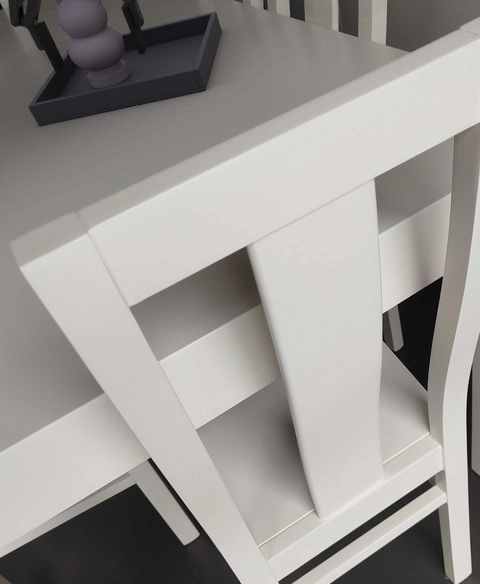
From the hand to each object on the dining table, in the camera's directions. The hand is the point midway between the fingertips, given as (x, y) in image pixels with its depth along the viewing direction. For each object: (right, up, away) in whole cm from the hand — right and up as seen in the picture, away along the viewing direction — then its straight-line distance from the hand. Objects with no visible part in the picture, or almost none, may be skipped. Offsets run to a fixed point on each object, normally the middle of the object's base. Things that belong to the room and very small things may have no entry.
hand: (101, 60), depth 89 cm
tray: (+5, -2, +2) cm, 5 cm away
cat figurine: (+1, -2, +2) cm, 3 cm away
